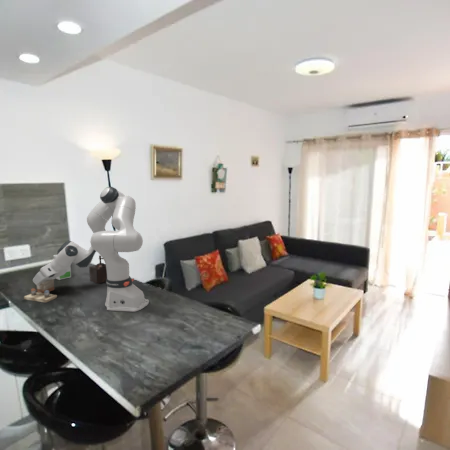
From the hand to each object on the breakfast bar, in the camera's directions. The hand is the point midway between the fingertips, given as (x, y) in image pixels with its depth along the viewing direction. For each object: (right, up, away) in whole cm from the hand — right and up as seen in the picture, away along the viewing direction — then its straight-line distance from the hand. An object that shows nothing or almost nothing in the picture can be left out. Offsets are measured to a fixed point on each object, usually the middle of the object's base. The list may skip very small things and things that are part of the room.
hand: (44, 282), depth 172 cm
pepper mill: (+26, -2, +22) cm, 34 cm away
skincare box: (-2, -2, +24) cm, 24 cm away
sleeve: (0, -5, 0) cm, 5 cm away
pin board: (+4, -7, -10) cm, 13 cm away
